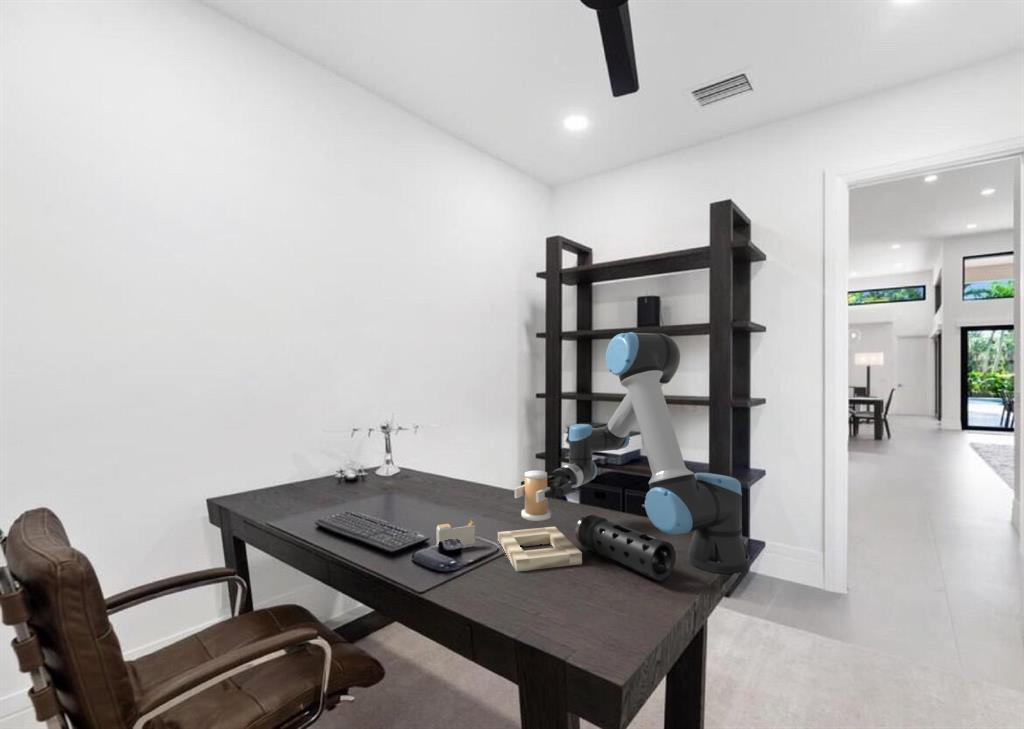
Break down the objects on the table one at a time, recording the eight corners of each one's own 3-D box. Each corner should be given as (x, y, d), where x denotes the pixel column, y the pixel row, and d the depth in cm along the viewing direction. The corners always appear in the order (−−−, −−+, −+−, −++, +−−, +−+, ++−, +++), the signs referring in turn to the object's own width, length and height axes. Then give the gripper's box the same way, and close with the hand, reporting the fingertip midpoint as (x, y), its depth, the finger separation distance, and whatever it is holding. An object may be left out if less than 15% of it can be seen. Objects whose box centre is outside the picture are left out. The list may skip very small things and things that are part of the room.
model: (436, 550, 144) (436, 524, 144) (471, 544, 148) (471, 519, 148) (439, 554, 141) (439, 527, 141) (475, 548, 145) (474, 522, 145)
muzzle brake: (650, 589, 117) (650, 545, 117) (573, 552, 140) (572, 515, 140) (677, 579, 122) (676, 537, 122) (598, 545, 146) (597, 510, 146)
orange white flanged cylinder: (555, 519, 138) (554, 475, 137) (526, 521, 136) (525, 477, 135) (545, 510, 146) (545, 468, 146) (518, 512, 144) (517, 470, 144)
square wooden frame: (581, 563, 132) (581, 552, 132) (516, 571, 127) (516, 560, 127) (554, 536, 153) (554, 526, 153) (497, 542, 149) (497, 532, 149)
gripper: (594, 494, 150) (556, 514, 131) (540, 486, 161) (498, 503, 142) (594, 470, 150) (556, 486, 131) (540, 463, 161) (497, 477, 142)
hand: (526, 495), depth 136 cm, fingers closed on orange white flanged cylinder, 6 cm apart
